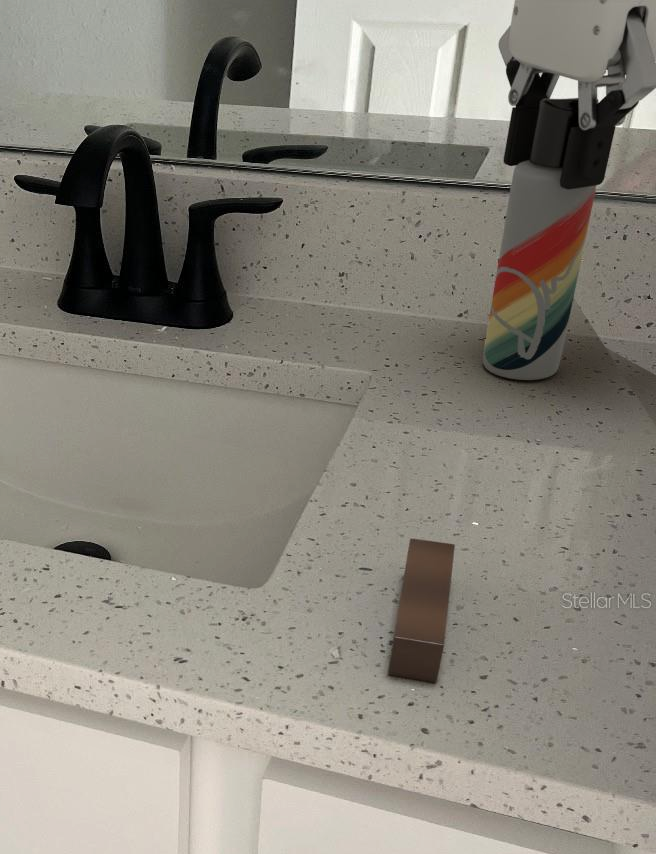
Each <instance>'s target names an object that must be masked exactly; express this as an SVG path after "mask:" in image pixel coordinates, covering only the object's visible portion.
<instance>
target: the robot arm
mask: <svg viewBox="0 0 656 854" xmlns="http://www.w3.org/2000/svg"><path fill="white" fill-rule="evenodd" d="M497 45H498V50H499V53H500V56H501V58H502V60H503V63H504V65H505V75H506V78H507V81H508V83H509V87H510V89H509V92H508V96H507V99H508V104H509V105H510V106H511V107H512V108H511V113H510V120H509V125H508V131H507V137H506V143H505V147H504V154H503V159H502V160H503V164H504V165H507V166H509V167H516V166H517V165H518V164H519V163H521V162H524V161H527V160H529V155H530V149H531V144H532V139H533V133H534V128H535V122H536V117H537V112H538V106H539V101H540V99H541V98H547V99H551V98H552V95H553V92H554V90H555V88H556V85H557V83H558V80H559V79H560V77H563V78H567V79H570V80H574V81H577V98H578V112H579V126H580V127H573V128H571V131H570V133H569V138H568V143H567V148H566V153H565V158H564V163H563V168H562V173H561V178H560V186H561V187H562V188H565V189H567V190H569V189H576V188H582V187H589V186H596V187H597V186H600V185H601V184H603V182H604V180H605V176H606V171H607V168H608V163H609V158H610V154H611V150H612V146H613V140H614V135H615V131H616V127H620V126H622V125H623V124H624V122H625V120H626V116H627V115H628V114H629V113H630V112H632V111H633V110H634V109H635V108H636V107H637V106H638V105H639V103H640V101H642V100H643V99H645V98H646V97H647V96H648V95H649V94H651V93H652V92H653V91H654V90H655V89H656V0H514V3H513V8H512V13H511V22H510V25H509V26H508V27H507V29H506V30H505V32H504V33H503V34H502V35H501V37H500V38H499V40H498V44H497ZM540 74H541V75H540ZM598 88H605V96H604V97H602V98H601V100H600V101H599V102H598V104H597V99H598Z"/></svg>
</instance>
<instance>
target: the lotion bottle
mask: <svg viewBox="0 0 656 854" xmlns="http://www.w3.org/2000/svg"><path fill="white" fill-rule="evenodd" d="M599 102H600V101H599V99H598V98H597V104H598V103H599ZM573 127H580V126H579V112H578V97H572V98H571V97H569V98H550V99H547V98H541V99H540V101H539V106H538V112H537V117H536V122H535V128H534V133H533V139H532V144H531V149H530V155H529V160H527V161H524V162H521V163H519V164H518V165H516V166H514V169H513V173H512V179H511V183H510V184H511V185H510V190H509V196H508V202H507V208H506V212H505V213H506V214H505V219H504V225H503V232H502V238H501V245H500V250H499V257H498V262H497V268H496V274H495V279H494V287H493V291H492V297H491V298H492V299H491V304H490V311H489V315H488V322H487V327H486V335H485V340H484V347H483V348H484V349H483V354H482V363H483V366H484V367H485V369H486V370H487V371H489V372H490V373H491V374H494V375H496V376H499V377H502V378H506V379H511V380H518V381H535V380H536V381H537V380H541V379H543V380H544V379H546V378H549V377H551V376H553V375H554V374H555V373H557V371H558V369H559V367H560V364H561V359H562V355H563V351H564V347H565V341H566V338H567V337H566V336H567V331H568V327H569V321H570V317H571V312H572V308H573V302H574V298H575V292H576V287H577V283H578V278H579V273H580V268H581V263H582V258H583V253H584V249H585V244H586V239H587V235H588V229H589V224H590V219H591V216H592V215H591V214H592V209H593V205H594V201H595V195H596V191H597V185H596V186H589V187H582V188H576V189H569V190H567V189H565V188H562V187H561V186H560V178H561V173H562V168H563V163H564V158H565V153H566V148H567V143H568V138H569V133H570V131H571V128H573Z"/></svg>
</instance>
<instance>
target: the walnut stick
mask: <svg viewBox="0 0 656 854" xmlns="http://www.w3.org/2000/svg"><path fill="white" fill-rule="evenodd" d="M455 546H456V545H455V544H454V543H449V542H440V541H433V540H427V539H420V538H412V537H411V538H410V539H409V543H408V549H407V554H406V560H405V561H406V562H405V568H404V574H403V579H402V585H401V591H400V597H399V604H398V608H397V615H396V620H395V621H396V622H395V628H394V633H393V639H392V645H391V651H390V656H389V657H390V658H389V664H388V669H387V675H389V676H392V677H393V676H394V677H399V678H407V679H412V680H417V681H424V682H430V683H437V682H438V678H439V673H440V667H441V663H442V658H443V652H444V647H445V639H446V629H447V623H448V622H447V621H448V612H449V603H450V593H451V584H452V576H453V575H452V574H453V566H454V558H455V549H456V547H455Z"/></svg>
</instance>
